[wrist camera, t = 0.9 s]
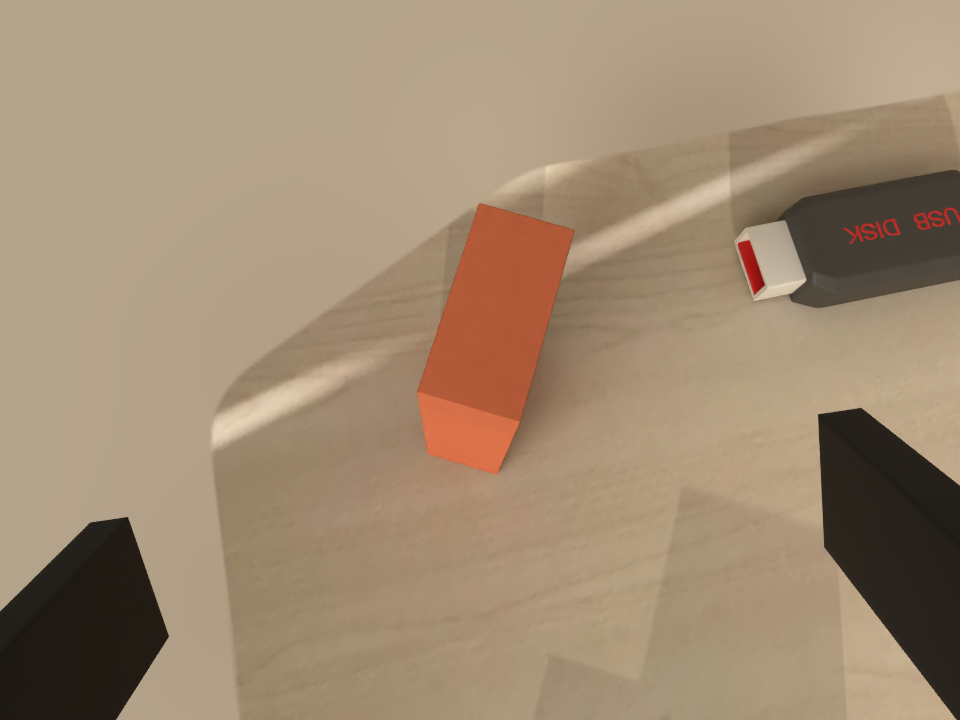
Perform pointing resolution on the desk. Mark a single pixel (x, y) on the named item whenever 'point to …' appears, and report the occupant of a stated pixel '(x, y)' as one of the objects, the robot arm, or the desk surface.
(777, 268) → the usb drive
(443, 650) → the desk surface
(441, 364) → the orange rectangular block
